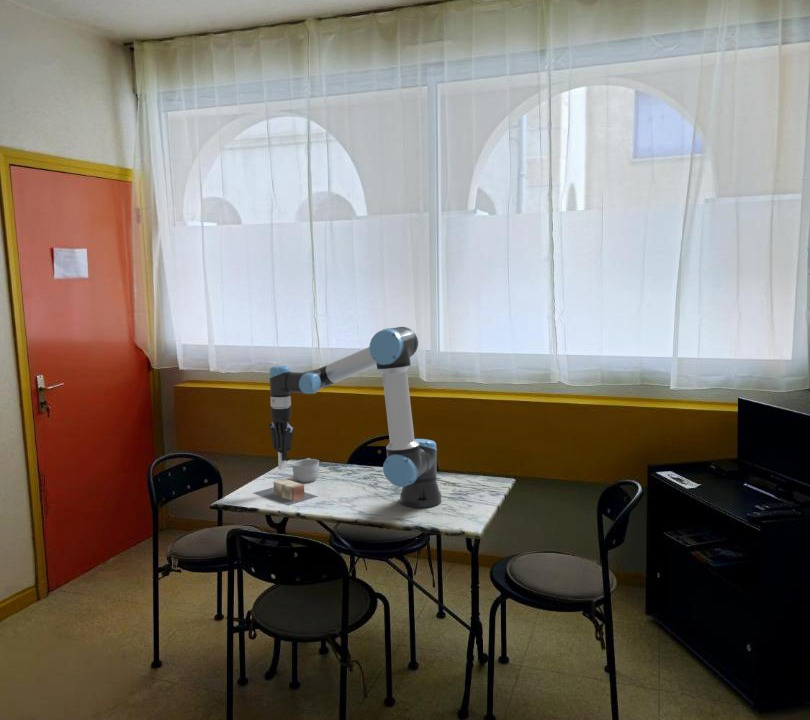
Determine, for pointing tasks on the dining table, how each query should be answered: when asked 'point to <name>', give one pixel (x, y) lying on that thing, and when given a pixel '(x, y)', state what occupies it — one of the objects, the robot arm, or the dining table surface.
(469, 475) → the dining table surface
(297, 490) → the block
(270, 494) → the mat
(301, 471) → the teacup
